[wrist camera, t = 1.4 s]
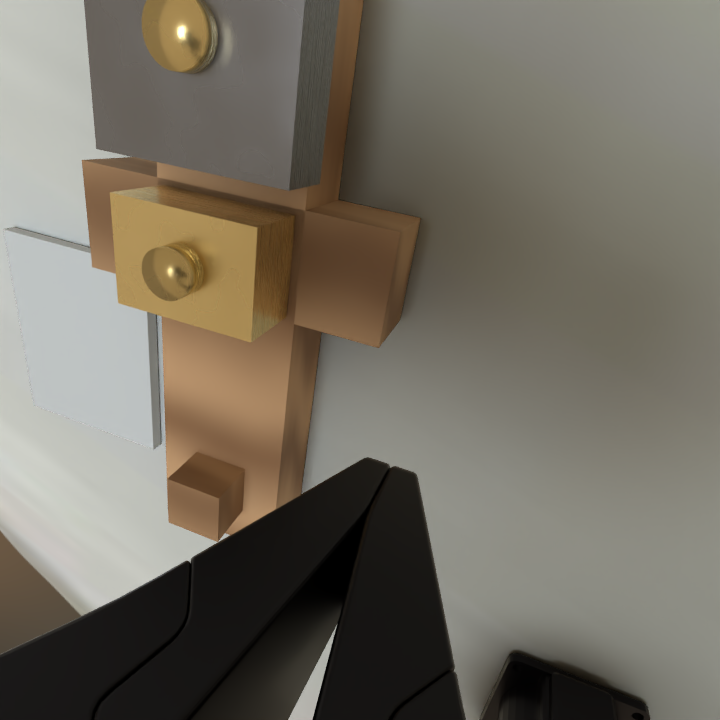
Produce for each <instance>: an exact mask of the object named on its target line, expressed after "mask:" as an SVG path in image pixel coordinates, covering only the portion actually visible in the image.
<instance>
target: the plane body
mask: <svg viewBox="0 0 720 720" xmlns="http://www.w3.org/2000/svg"><path fill="white" fill-rule="evenodd" d="M362 8H363V0H340V4H339V13H338V22H337V32H336V41H335V50H334V59H333V68H332V77H331V87H330V96H329V105H328V114H327V123H326V132H325V142H324V151H323V160H322V169H321V178H320V184H317V185H313V186H308V187H304V188H299V189H295V190H290V191H287V190H283V189H278V188H274V187H269V186H265V185H260V184H255V183H251V182H246V181H242V180H237V179H232V178H228V177H223V176H219V175H214V174H210V173H205V172H200V171H196V170H191V169H187V168H182V167H177V166H173V165H168V164H164V163H159V162H155V161H150V160H145V159H141V158H136V157H129V158H111V159H93V160H82V167H83V177H84V188H85V198H86V208H87V219H88V229H89V239H90V250H91V260H92V267H93V268H97V269H100V270H104V271H107V272H111V273H114V274H116V269H115V256H114V242H113V229H112V216H111V202H110V192H115V191H123V190H130V189H138V188H145V187H153V186H160V185H166V186H171V187H175V188H179V189H184V190H188V191H192V192H197V193H201V194H205V195H210V196H214V197H219V198H223V199H227V200H232V201H236V202H240V203H245V204H249V205H253V206H258V207H262V208H266V209H271V210H275V211H280V212H284V213H288V214H293V215H295V227H294V238H293V249H292V260H291V271H290V282H289V293H288V304H287V315H286V318H285V319H283V320H282V321H280V322H279V323H278V324H276V325H275V326H273V327H272V328H271V329H269V330H268V331H266V332H265V333H264V334H262V335H261V336H259V337H258V338H257V339H255V340H254V341H253V342H251V343H250V342H247V341H244V340H240V339H237V338H234V337H230V336H227V335H223V334H220V333H217V332H213V331H210V330H207V329H203V328H200V327H197V326H193V325H190V324H186V323H183V322H180V321H176V320H173V319H170V318H166V317H163V316H162V337H163V368H164V399H165V430H166V461H167V492H168V515H169V522H170V523H172V524H174V525H177V526H179V527H182V528H184V529H187V530H189V531H192V532H194V533H197V534H199V535H202V536H204V537H207V538H209V539H212V540H214V541H217V542H218V541H219V540H220V538H221V537H222V536H223V535H224V533H226V534H229V535H232V534H234V533H235V532H237V531H239V530H241V529H242V528H244V527H246V526H247V525H249V524H251V523H253V522H254V521H256V520H258V519H260V518H261V517H263V516H265V515H266V514H268V513H270V512H272V511H273V510H275V509H277V508H279V507H280V506H282V505H284V504H286V503H287V502H289V501H291V500H292V499H294V498H296V497H298V496H299V495H301V489H302V481H303V473H304V466H305V458H306V450H307V442H308V434H309V426H310V418H311V410H312V403H313V395H314V387H315V379H316V371H317V363H318V355H319V347H320V339H321V332H324V333H327V334H331V335H334V336H338V337H341V338H345V339H349V340H352V341H356V342H359V343H363V344H366V345H370V346H373V347H377V348H379V347H380V346H381V344H382V343H383V342H384V340H385V339H386V338H387V336H388V335H389V334H390V333H391V331H392V330H393V329H394V327H395V326H396V325H397V323H398V322H399V321H400V318H401V313H402V308H403V303H404V298H405V293H406V289H407V284H408V279H409V274H410V269H411V264H412V259H413V254H414V249H415V244H416V239H417V234H418V229H419V225H420V220H421V218H419V217H414V216H410V215H405V214H400V213H396V212H391V211H387V210H382V209H377V208H373V207H368V206H364V205H359V204H354V203H350V202H345V201H341V200H338V198H339V190H340V182H341V174H342V166H343V158H344V150H345V142H346V134H347V127H348V119H349V111H350V103H351V95H352V87H353V79H354V71H355V64H356V56H357V48H358V40H359V32H360V24H361V16H362Z"/></svg>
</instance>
